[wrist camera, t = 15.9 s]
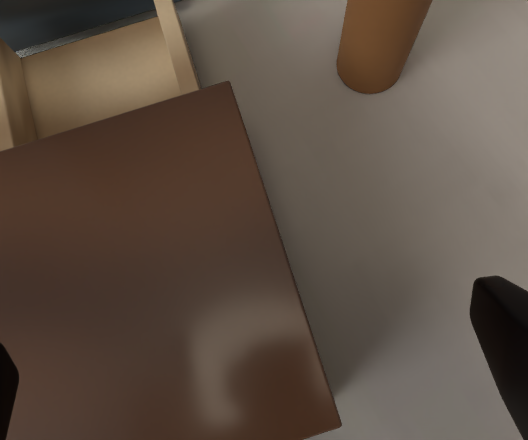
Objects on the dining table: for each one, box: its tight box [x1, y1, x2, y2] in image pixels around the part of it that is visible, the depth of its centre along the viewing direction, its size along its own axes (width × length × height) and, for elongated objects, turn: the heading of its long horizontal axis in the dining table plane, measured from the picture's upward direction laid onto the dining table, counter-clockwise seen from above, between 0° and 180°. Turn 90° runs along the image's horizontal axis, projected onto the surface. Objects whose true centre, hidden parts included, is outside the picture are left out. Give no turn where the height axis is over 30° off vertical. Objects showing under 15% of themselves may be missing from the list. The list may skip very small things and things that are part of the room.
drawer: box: [0, 0, 201, 151], centre depth 23 cm, size 17×10×4 cm, turn 18°
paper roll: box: [337, 0, 432, 94], centre depth 21 cm, size 3×3×9 cm
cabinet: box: [0, 81, 342, 440], centre depth 20 cm, size 14×12×6 cm
